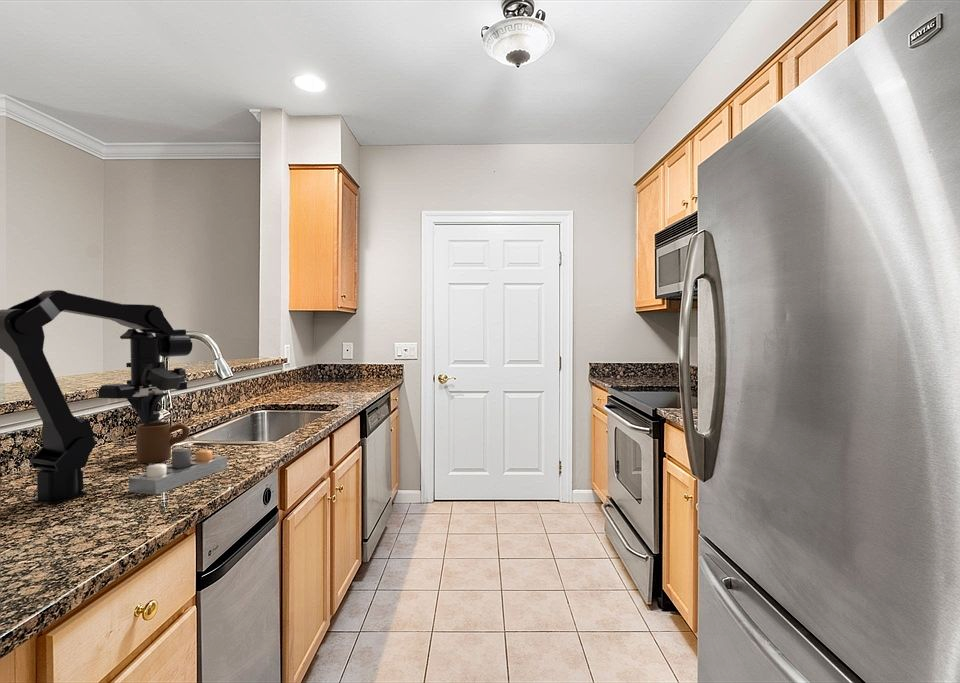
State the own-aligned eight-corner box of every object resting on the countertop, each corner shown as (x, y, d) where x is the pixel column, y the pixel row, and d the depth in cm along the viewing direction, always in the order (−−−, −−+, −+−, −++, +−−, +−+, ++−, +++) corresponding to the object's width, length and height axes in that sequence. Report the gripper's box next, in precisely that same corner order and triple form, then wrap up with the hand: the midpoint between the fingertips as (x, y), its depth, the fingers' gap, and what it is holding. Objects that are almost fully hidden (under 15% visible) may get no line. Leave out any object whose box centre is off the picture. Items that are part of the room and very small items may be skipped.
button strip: (155, 494, 102) (155, 480, 102) (129, 492, 104) (128, 478, 104) (227, 468, 122) (227, 456, 122) (203, 466, 124) (203, 454, 123)
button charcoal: (181, 472, 111) (181, 453, 111) (168, 471, 112) (168, 452, 112) (194, 468, 114) (194, 449, 114) (181, 467, 115) (181, 448, 115)
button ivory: (156, 489, 105) (156, 468, 104) (142, 488, 105) (142, 467, 105) (170, 484, 108) (170, 464, 108) (157, 483, 109) (157, 463, 109)
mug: (192, 453, 137) (191, 419, 136) (187, 460, 130) (186, 424, 129) (140, 457, 132) (140, 422, 132) (133, 465, 125) (132, 428, 125)
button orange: (204, 472, 117) (204, 453, 117) (192, 471, 118) (191, 452, 118) (216, 468, 121) (215, 450, 120) (203, 467, 121) (203, 449, 121)
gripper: (136, 361, 106) (137, 433, 106) (204, 356, 124) (205, 418, 124) (95, 360, 108) (97, 431, 109) (168, 355, 126) (169, 416, 127)
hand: (146, 423), depth 117 cm, fingers closed
